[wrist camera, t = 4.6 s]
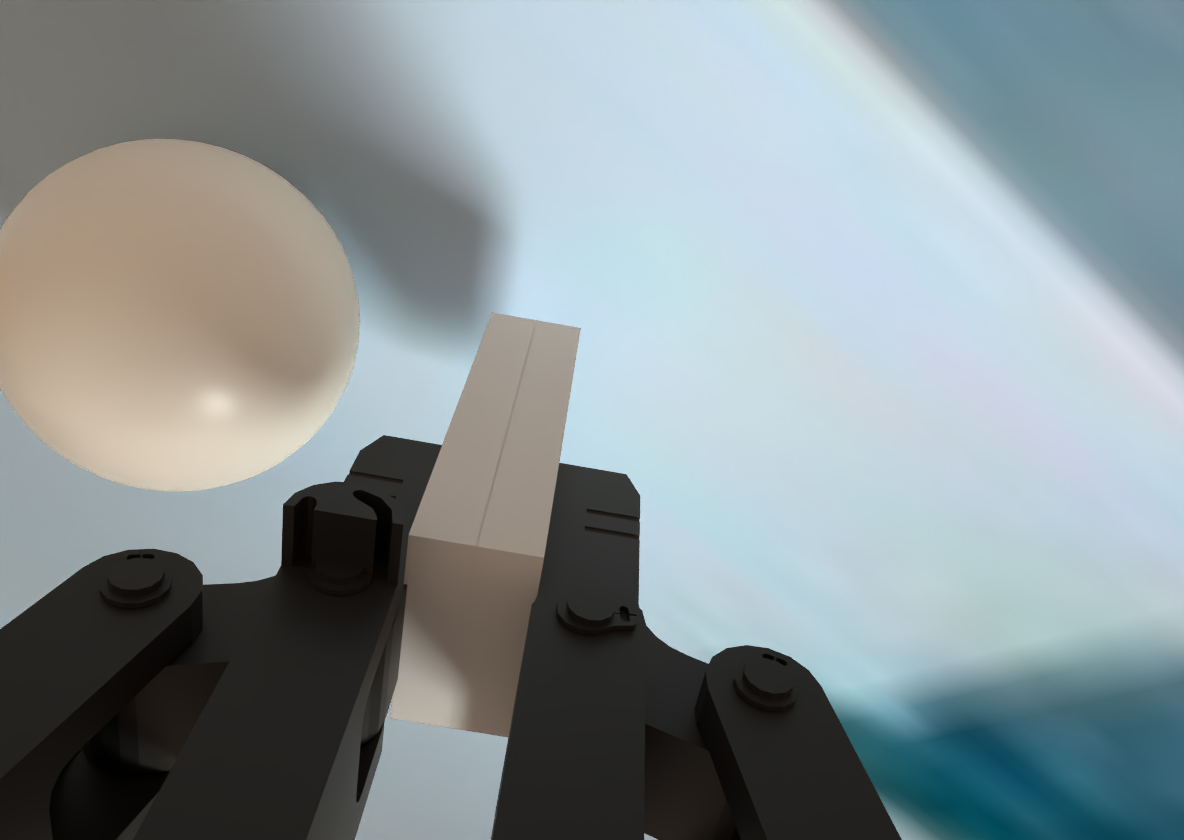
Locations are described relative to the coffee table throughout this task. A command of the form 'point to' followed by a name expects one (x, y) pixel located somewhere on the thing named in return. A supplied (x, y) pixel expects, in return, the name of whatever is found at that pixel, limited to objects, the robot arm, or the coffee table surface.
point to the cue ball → (173, 315)
